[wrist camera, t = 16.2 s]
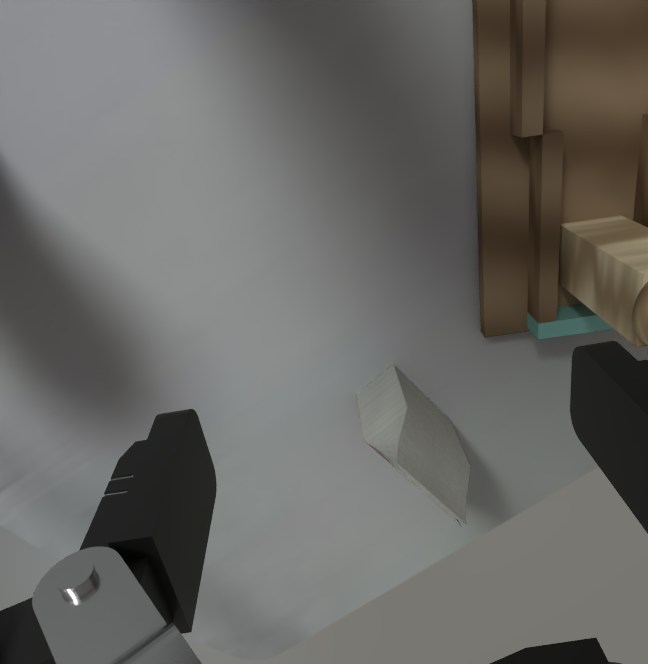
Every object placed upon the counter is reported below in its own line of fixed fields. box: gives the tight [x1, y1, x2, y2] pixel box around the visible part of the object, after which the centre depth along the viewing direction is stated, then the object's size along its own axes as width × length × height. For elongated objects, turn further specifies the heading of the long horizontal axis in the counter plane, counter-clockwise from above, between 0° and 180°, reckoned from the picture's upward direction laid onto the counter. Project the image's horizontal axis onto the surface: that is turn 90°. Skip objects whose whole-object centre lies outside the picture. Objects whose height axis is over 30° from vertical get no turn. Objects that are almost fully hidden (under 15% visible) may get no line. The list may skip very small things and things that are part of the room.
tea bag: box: [357, 364, 471, 526], centre depth 39 cm, size 4×7×10 cm, turn 43°
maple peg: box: [558, 215, 648, 347], centre depth 33 cm, size 5×5×11 cm
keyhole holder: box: [472, 0, 648, 340], centre depth 34 cm, size 25×14×3 cm, turn 8°
